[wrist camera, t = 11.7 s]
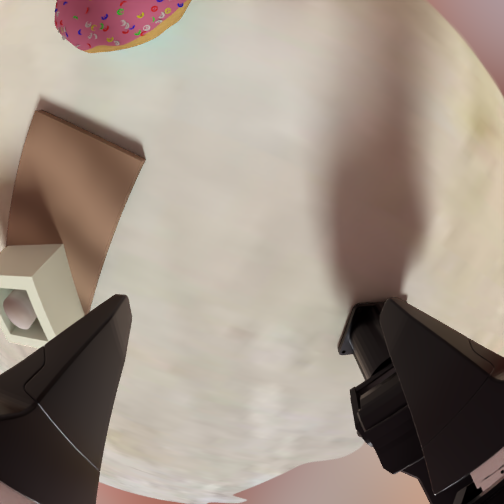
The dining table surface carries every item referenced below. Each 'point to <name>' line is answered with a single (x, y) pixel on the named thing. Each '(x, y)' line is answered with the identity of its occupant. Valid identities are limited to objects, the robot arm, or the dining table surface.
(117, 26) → the cupcake
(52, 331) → the square hollow sleeve
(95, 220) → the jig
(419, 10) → the dining table surface
